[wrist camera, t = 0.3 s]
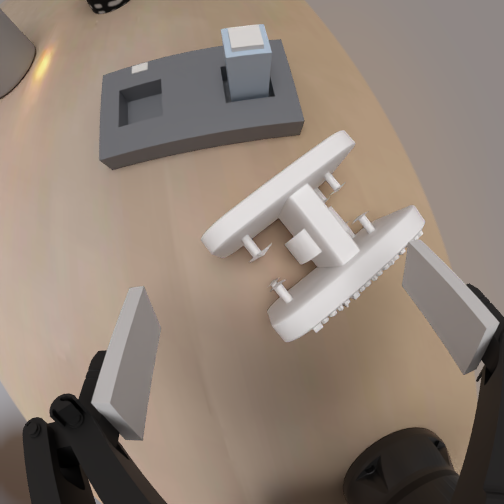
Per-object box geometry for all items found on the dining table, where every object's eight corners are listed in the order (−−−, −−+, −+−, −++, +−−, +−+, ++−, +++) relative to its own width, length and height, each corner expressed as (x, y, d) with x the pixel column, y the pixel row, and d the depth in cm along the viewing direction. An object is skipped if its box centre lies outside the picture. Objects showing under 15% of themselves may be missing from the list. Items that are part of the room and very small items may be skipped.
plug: (267, 106, 32) (272, 48, 22) (232, 110, 32) (225, 53, 22) (260, 74, 33) (262, 15, 22) (227, 78, 33) (219, 20, 22)
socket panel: (299, 134, 33) (304, 120, 29) (112, 169, 33) (98, 159, 29) (278, 56, 33) (280, 38, 30) (113, 89, 33) (102, 74, 30)
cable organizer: (323, 163, 33) (354, 115, 21) (382, 238, 32) (438, 223, 21) (214, 247, 32) (194, 234, 21) (277, 326, 32) (291, 356, 20)
